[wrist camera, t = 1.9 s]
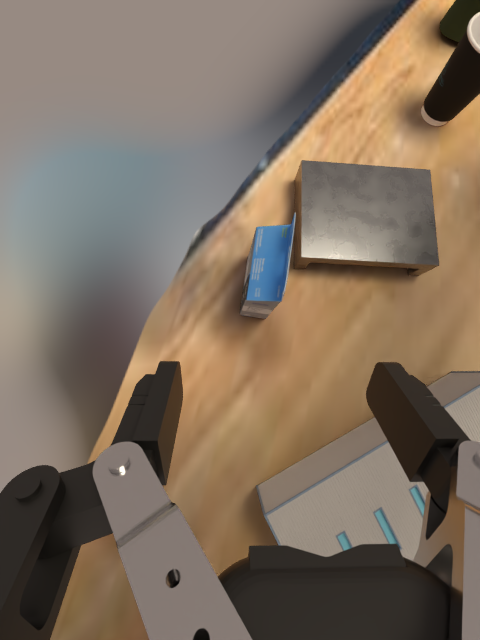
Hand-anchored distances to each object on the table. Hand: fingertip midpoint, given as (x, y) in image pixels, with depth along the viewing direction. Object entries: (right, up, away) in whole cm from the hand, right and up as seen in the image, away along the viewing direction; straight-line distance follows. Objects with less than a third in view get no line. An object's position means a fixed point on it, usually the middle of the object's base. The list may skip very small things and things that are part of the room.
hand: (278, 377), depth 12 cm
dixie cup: (+30, +36, +34) cm, 58 cm away
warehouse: (+17, -18, +24) cm, 34 cm away
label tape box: (+1, +7, +27) cm, 28 cm away
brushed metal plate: (+15, +16, +30) cm, 37 cm away
